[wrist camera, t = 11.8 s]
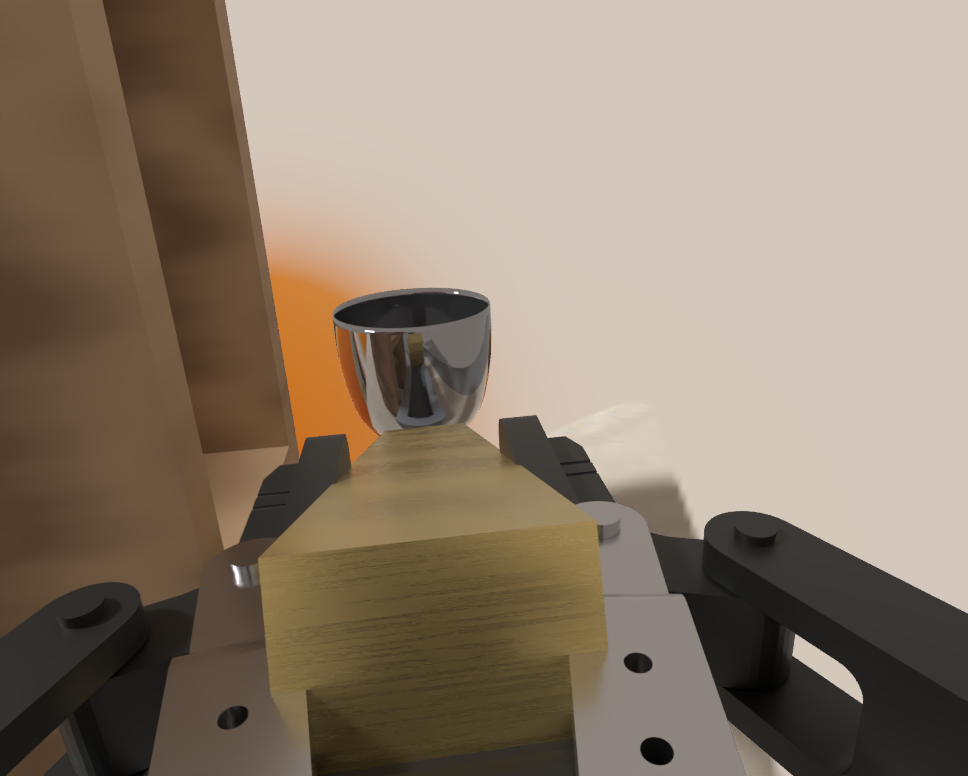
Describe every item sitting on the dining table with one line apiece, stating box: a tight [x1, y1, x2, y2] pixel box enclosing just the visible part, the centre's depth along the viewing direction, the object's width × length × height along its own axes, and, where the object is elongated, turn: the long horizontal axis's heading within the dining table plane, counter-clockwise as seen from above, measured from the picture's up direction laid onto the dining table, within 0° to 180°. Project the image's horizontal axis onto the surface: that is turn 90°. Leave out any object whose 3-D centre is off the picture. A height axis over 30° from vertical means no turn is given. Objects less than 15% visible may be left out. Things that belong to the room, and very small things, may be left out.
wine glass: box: [333, 288, 491, 436], centre depth 37 cm, size 8×8×15 cm
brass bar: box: [258, 423, 608, 775], centre depth 16 cm, size 3×20×3 cm, turn 7°
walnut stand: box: [0, 0, 300, 776], centre depth 19 cm, size 8×12×32 cm, turn 7°
